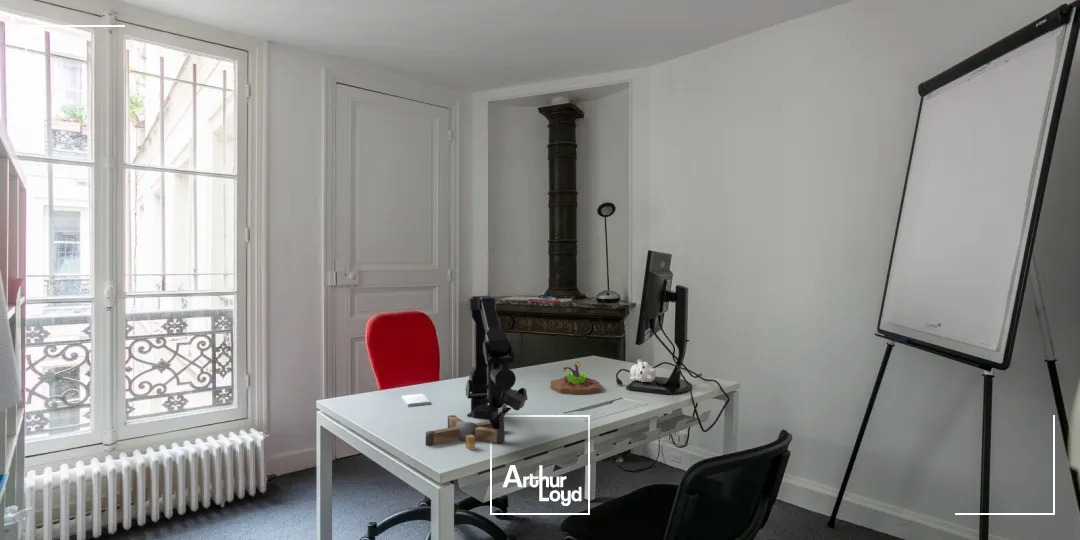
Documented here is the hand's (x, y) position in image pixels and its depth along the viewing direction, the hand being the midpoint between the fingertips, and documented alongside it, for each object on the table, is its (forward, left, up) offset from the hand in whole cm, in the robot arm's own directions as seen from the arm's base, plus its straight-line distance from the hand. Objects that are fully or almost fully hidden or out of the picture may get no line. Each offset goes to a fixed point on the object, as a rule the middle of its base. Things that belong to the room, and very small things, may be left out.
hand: (497, 433), depth 161 cm
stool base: (0, -10, -2) cm, 11 cm away
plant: (-64, +11, -2) cm, 65 cm away
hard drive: (-31, -41, -2) cm, 52 cm away
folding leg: (+2, -2, -1) cm, 3 cm away
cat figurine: (-81, +37, -2) cm, 89 cm away
